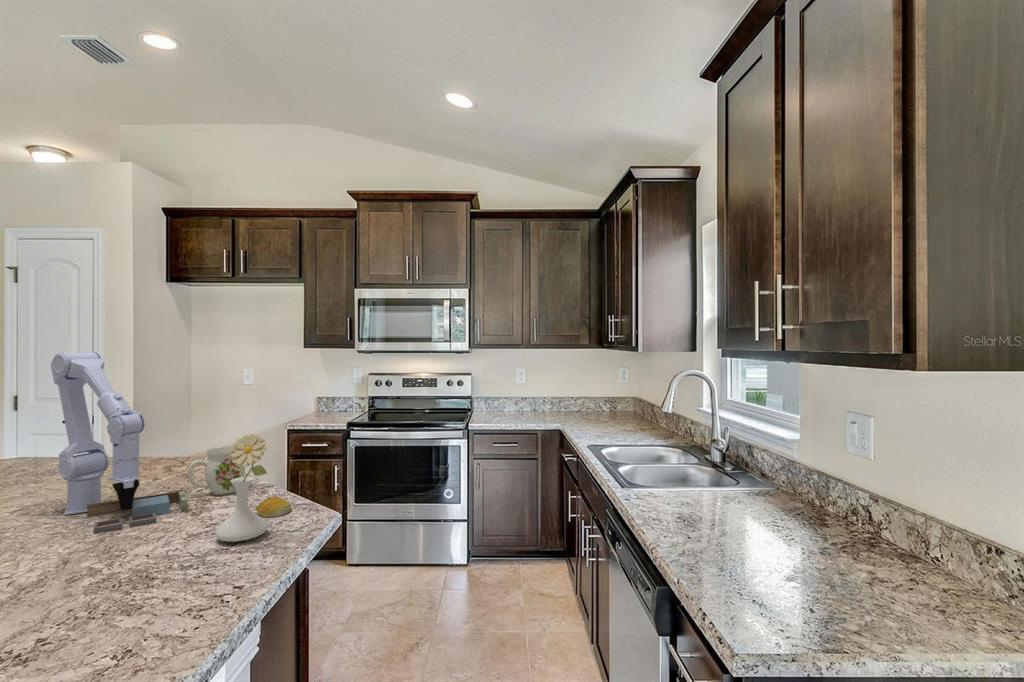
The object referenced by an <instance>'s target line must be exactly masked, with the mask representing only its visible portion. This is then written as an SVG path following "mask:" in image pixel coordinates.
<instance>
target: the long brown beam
mask: <svg viewBox="0 0 1024 682" xmlns="http://www.w3.org/2000/svg"><path fill="white" fill-rule="evenodd" d="M164 495H168V499H169V505H170V504H176V503H178V505H179V509H180V511H181V513H182V512H187V511H188V508H187V507H188V503H187V502H188V500H187V497H186V494H185V492H184V490H178V491H177V490H176V491H169V492H164V493H163V492H162V493H157V494H151V495H144V496H137V497H134V499H133V500H137V499H144V498H150V497H157V496H164ZM126 511H133V504H132V507H131V509H128V510H121V508H120V504H119V499H117V500H110V501H105V502H104V501H103V502H102V503H96V504H89V505H87V512H86V516H87V518H89V517H94V516H95V517H96V516H101V515H106V514H107V515H108V514H112V513H113V514H115V513H119V512H120V513H121V512H126Z"/></svg>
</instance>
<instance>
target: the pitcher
mask: <svg viewBox="0 0 1024 682" xmlns="http://www.w3.org/2000/svg"><path fill="white" fill-rule="evenodd" d="M231 448H233V445H228V446H222V447H215V448H210V449H208V450H206V451H205V454H206V457H207V460H206V459H205V460H204V459H196V460H193V461H192V462H191V464H190V465H189V466H188V469H187V478H188V481H189V483H190V484H191V485H193V486H195V487H196V488H202V489H209V490H210V492H211V493H212V495H216V496H225V494H226V495H230V493H231V494H234V493H236V490H235V487H234V485H233V484H232V483H231V480H232V479H235V478H240V477H245V474H244V473H242V472H240V471H237V470H235V469H234V468H233V467H232V466H234V467H235V468H237V469H240V470H243V471H244V472H245V473H246V466H245V467H242V466H241V464H240V465H236V463H235V464H234V463H233V462H232V459H233V458H231V455H232V454H230V451H231ZM196 465H197V466H198V465H204V466H205V467H204V477H205V482H204V483H202V482H199V481H197V480H195V478H194V477H193V471H194V468H195V467H196ZM233 492H234V493H233Z"/></svg>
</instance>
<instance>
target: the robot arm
mask: <svg viewBox="0 0 1024 682" xmlns="http://www.w3.org/2000/svg"><path fill="white" fill-rule="evenodd" d="M50 362H51V363H50V369H51V374H52V379H53V383H54V384H55V385H57V387H58V392H59V399H60V403H61V407H62V409H61V410H62V413H63V420H64V424H65V430H66V435H67V440H68V441H67V442H68V446H67V447H65V448H64V449H63V450H62V451H61V452H60V453H59V454H58V461H59V462H58V467H57V469H58V470H57V471H58V473H59V475H60V477H61V478H63V480H64V481H66V485H67V486H66V489H67V491H66V492H67V494H66V495H67V499H66V501H67V502H66V503H67V505H66V507H65V511H64V513H63V515H64V516H68V515H70V516H71V515H74V514H82V513H87V505H89V504H96V503H102V502H104V499H102V476H104V475H105V472H106V471H107V470H108V468H109V466H110V457H109V455H108V454H107V452H106V449H105V445H104V444H101V443H100V442H97V441H96V440H94V438H93V432H92V427H91V423H90V416H89V413H88V411H89V410H88V408H87V407H88V405H87V402H86V396H85V391H84V386H85V384H87V385H88V386H89V388H90V389H91V390H92V391H93V392H94V394H95V395H96V397H98V400H97V403H96V405H97V407H98V409H100V412H102V414H103V415H104V418H105V419H106V421H107V422H108V423H107V425H106V430H107V433H108V435H109V442H110V443H111V444H112V475H111V476H107V477H106V481H110V482H111V481H113V482H115V483H112V487H113V489H114V491H115V492H116V495H117V498H118V499H117V500H119V504H120V508H121V510H127V511H129V510H128V509H131V507H132V504H133V499H134V498H135V494H136V493H137V490H138V488H139V487H140V481H139V479H138V478H140V477H141V473H140V434H141V433H142V432H143V431H144V429H145V426H146V425H145V424H146V423H145V419H144V417H143V414H142V413H140V412H137V411H136V410H134V409H132V408H131V406H130V405H129V404H128V402H127V401H126V399H125V398H124V396H123V395H122V393H120V392H114V390H113V387H112V385H111V384H110V382H109V380H108V377H107V376H106V374H105V371H104V368H105V361H104V358H103V357H102V355H101V354H100V353H99V352H98V351H91V352H90V351H89V352H87V351H86V352H63V351H62V352H61V351H60V352H57V353H56V354H55V355H54V357H53V358H52V360H51V361H50Z"/></svg>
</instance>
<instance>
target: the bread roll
mask: <svg viewBox="0 0 1024 682" xmlns="http://www.w3.org/2000/svg"><path fill="white" fill-rule="evenodd" d="M291 510H292V504H291V503H290V502H289V501H287V500H286V499H284V498H282V497H279V496H271V497H267V498H265V499H264V500H263V501H261V502H260V503H259V504H258V505H257V507H256V512H257V513H258V515H260V517H261V518H277V517H276V516H278V517H281V515H282V516H285V515H286V513H287V514H289V513H290V512H291ZM289 511H290V512H289ZM284 514H285V515H284Z"/></svg>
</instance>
